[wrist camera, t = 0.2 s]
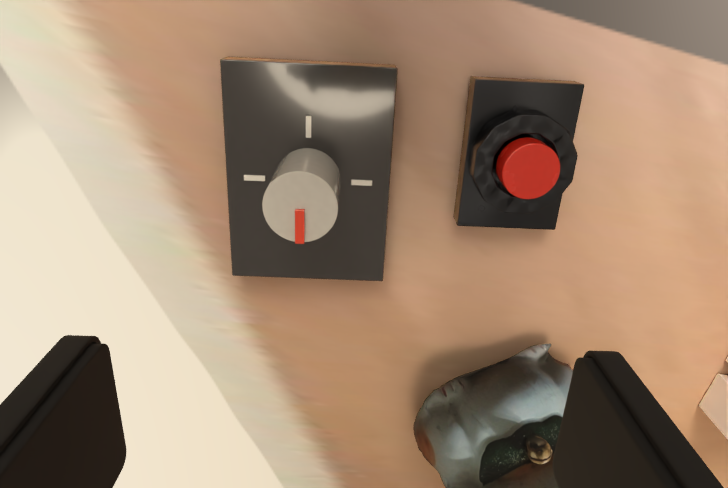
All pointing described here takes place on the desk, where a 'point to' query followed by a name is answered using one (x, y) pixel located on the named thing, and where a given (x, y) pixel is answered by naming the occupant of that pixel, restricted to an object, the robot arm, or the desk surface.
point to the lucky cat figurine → (497, 423)
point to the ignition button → (528, 168)
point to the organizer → (717, 402)
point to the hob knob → (303, 196)
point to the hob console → (316, 131)
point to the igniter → (500, 127)
